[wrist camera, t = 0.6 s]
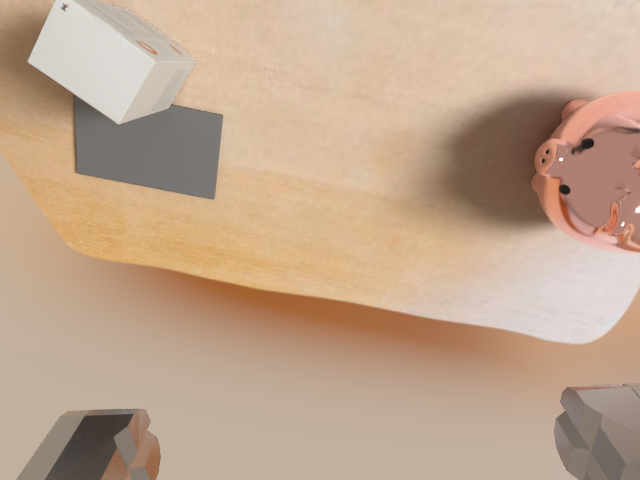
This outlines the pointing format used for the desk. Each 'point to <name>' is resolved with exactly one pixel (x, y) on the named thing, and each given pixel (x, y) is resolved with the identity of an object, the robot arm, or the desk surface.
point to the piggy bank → (594, 172)
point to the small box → (110, 59)
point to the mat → (151, 148)
